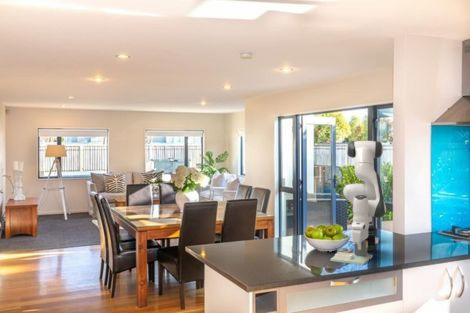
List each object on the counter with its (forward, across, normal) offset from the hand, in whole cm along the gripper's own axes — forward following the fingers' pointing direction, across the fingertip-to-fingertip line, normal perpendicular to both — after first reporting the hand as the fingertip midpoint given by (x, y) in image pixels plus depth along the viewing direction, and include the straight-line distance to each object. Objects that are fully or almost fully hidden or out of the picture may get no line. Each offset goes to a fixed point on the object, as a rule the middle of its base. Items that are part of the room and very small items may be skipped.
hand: (361, 248), depth 248 cm
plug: (+4, 0, 0) cm, 4 cm away
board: (+5, +5, -4) cm, 8 cm away
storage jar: (+6, -18, -1) cm, 19 cm away
